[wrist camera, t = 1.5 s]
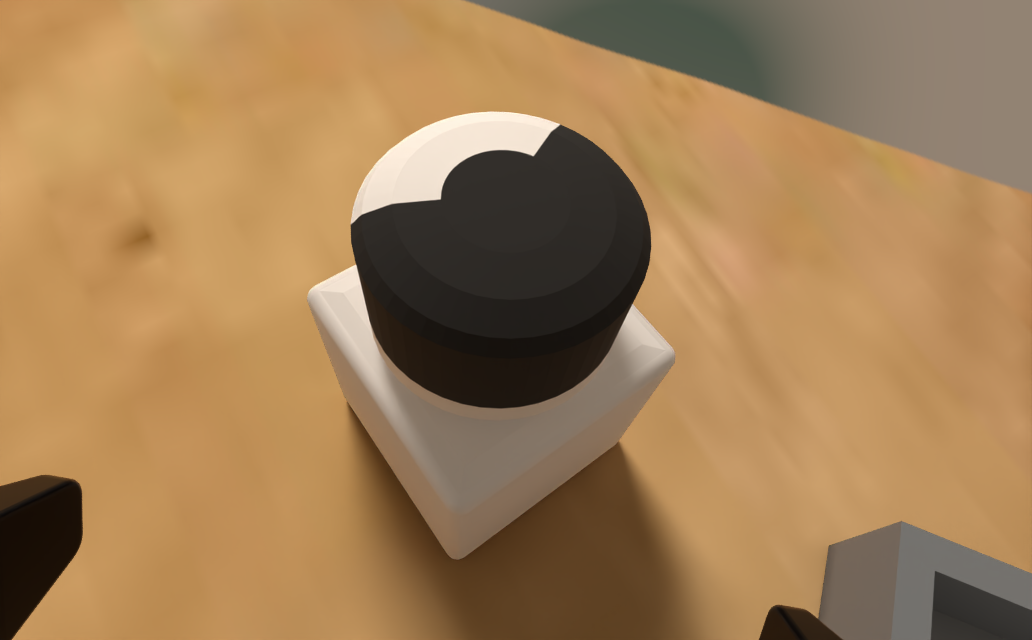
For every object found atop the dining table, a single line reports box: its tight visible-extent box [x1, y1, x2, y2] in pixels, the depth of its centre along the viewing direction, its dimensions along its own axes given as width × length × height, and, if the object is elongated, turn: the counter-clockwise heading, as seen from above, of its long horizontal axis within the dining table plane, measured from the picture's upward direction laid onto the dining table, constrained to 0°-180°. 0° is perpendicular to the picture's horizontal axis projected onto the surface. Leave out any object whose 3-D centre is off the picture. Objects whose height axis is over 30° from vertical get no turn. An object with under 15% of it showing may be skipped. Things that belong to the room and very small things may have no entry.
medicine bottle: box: [307, 112, 675, 560], centre depth 17 cm, size 7×7×12 cm
